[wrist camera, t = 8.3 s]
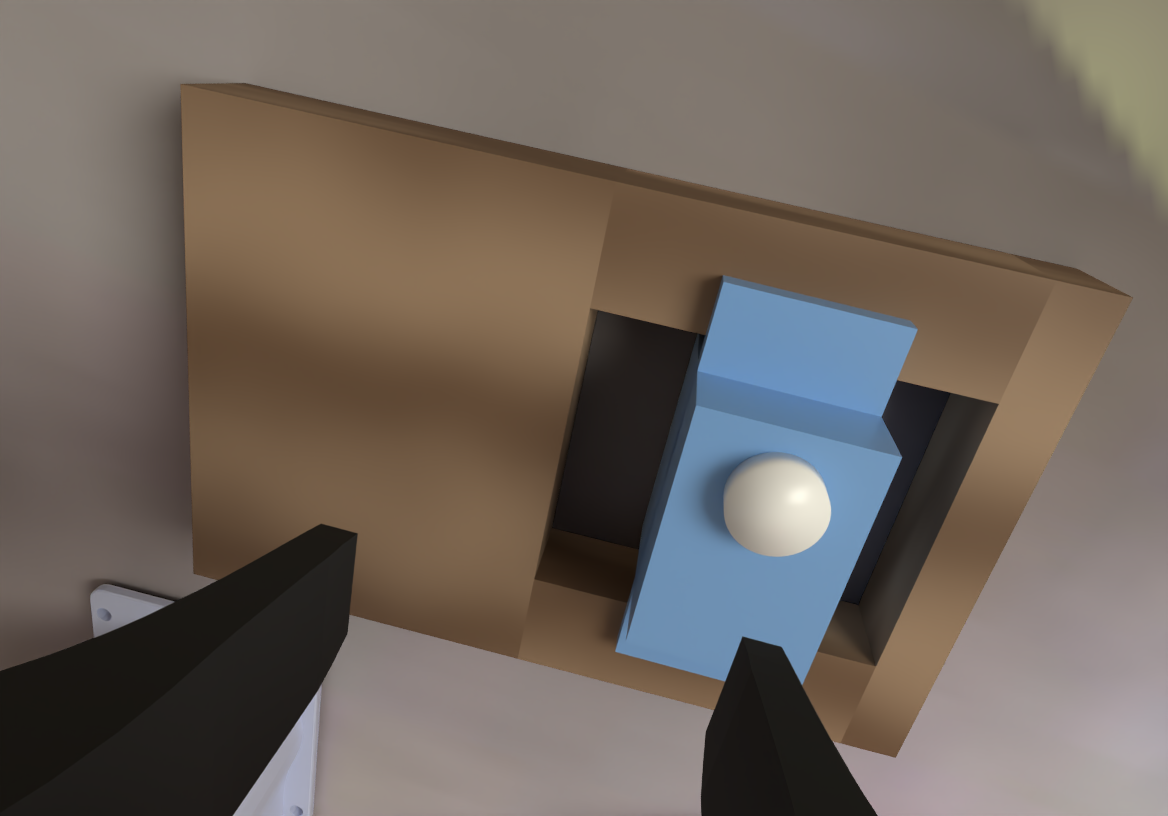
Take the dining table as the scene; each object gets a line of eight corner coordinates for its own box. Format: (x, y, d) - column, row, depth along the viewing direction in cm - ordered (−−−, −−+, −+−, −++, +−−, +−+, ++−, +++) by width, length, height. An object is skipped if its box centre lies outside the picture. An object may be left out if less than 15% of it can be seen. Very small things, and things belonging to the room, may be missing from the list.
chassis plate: (876, 689, 23) (895, 757, 20) (242, 526, 24) (193, 573, 22) (1077, 268, 17) (1132, 297, 15) (245, 83, 18) (180, 84, 16)
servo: (759, 614, 22) (774, 773, 17) (626, 580, 23) (603, 726, 17) (885, 290, 18) (954, 372, 13) (721, 250, 18) (725, 316, 13)
